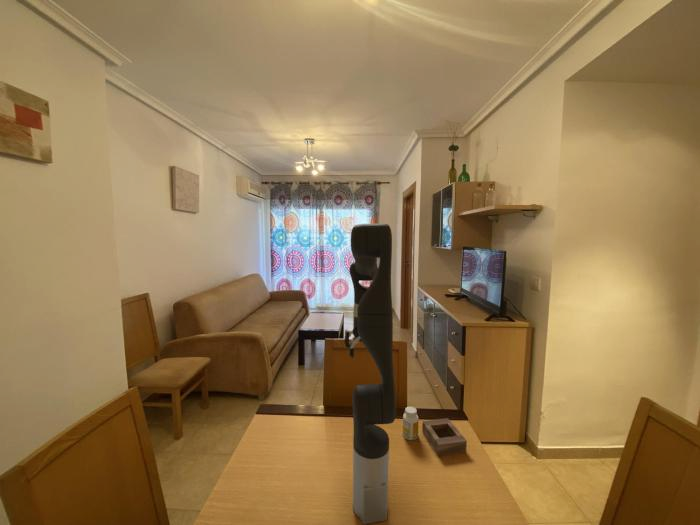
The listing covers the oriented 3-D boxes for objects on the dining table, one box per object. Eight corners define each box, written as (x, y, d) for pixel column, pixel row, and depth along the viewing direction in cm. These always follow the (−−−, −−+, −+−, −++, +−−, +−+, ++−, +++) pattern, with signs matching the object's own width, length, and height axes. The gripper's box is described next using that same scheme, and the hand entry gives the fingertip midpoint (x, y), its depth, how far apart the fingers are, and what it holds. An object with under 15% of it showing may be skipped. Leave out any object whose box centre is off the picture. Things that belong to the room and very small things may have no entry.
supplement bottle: (417, 430, 108) (417, 405, 107) (418, 441, 103) (419, 414, 102) (402, 429, 109) (402, 404, 108) (403, 440, 104) (403, 413, 103)
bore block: (466, 452, 98) (466, 440, 98) (438, 456, 96) (438, 444, 96) (447, 428, 110) (448, 418, 109) (422, 431, 108) (422, 421, 107)
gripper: (346, 318, 107) (346, 361, 109) (384, 316, 110) (384, 358, 112) (343, 313, 114) (342, 353, 116) (378, 311, 117) (377, 351, 119)
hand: (363, 356), depth 114 cm, fingers open, 8 cm apart
